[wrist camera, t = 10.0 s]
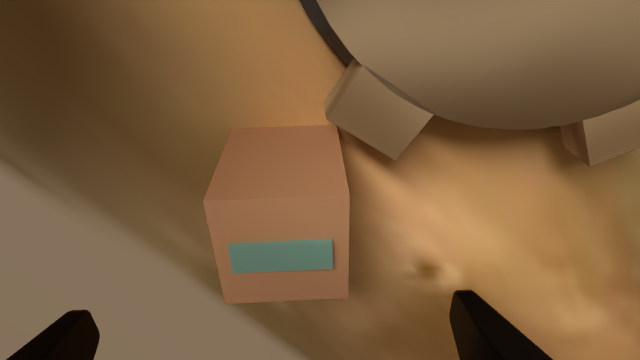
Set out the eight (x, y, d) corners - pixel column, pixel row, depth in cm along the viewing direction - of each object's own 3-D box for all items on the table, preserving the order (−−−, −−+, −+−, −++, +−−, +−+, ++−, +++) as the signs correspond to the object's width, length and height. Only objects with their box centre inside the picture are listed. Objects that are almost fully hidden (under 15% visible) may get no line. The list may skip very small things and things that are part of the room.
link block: (244, 213, 17) (223, 309, 12) (231, 128, 15) (201, 205, 10) (337, 209, 17) (348, 303, 13) (336, 124, 15) (350, 198, 11)
